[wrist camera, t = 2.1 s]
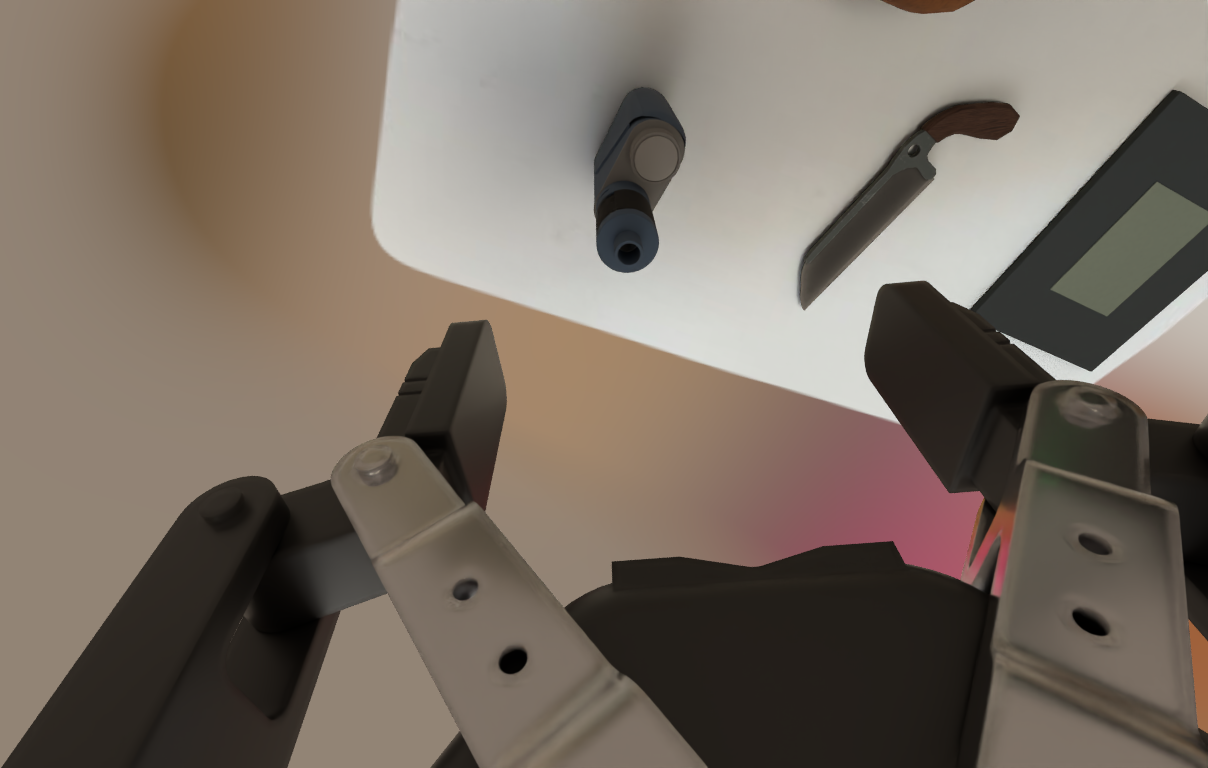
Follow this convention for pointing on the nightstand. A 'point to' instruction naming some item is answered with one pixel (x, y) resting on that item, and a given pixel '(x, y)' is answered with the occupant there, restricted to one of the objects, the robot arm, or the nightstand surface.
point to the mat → (1115, 245)
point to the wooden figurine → (928, 5)
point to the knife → (896, 191)
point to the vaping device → (635, 178)
